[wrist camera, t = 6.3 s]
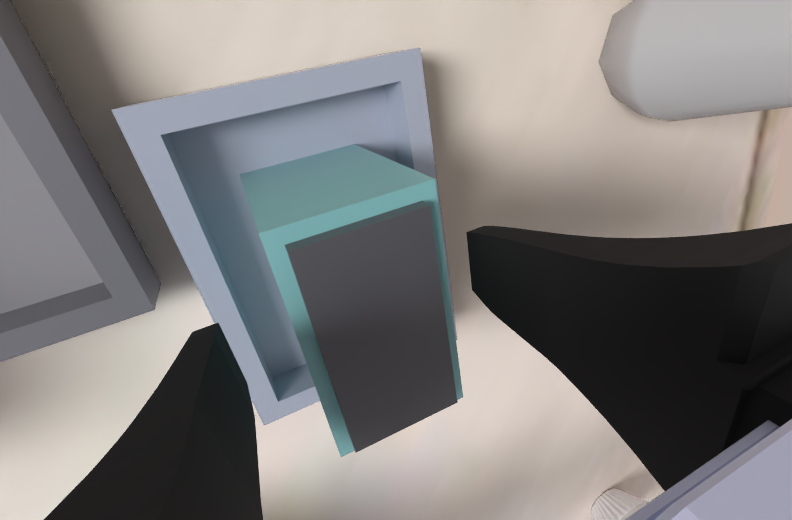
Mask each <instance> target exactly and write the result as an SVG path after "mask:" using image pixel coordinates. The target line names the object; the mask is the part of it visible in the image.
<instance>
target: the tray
mask: <svg viewBox="0 0 792 520" xmlns="http://www.w3.org/2000/svg"><path fill="white" fill-rule="evenodd" d="M112 112H113V114H114V116H115V118H116V121H117V123H118V125H119V127H120V129H121V131H122V133H123V135H124V137H125V139H126V141H127V143H128V145H129V147H130V149H131V152H132V154H133V156H134V158H135V160H136V162H137V164H138V166H139V168H140V170H141V172H142V174H143V176H144V178H145V180H146V183H147V185H148V187H149V189H150V191H151V193H152V195H153V197H154V199H155V201H156V203H157V205H158V207H159V209H160V211H161V213H162V216H163V218H164V220H165V222H166V224H167V226H168V228H169V230H170V232H171V234H172V236H173V238H174V240H175V242H176V244H177V247H178V249H179V251H180V253H181V255H182V257H183V259H184V261H185V263H186V265H187V267H188V269H189V271H190V273H191V275H192V278H193V280H194V282H195V284H196V286H197V288H198V290H199V292H200V294H201V296H202V298H203V300H204V302H205V304H206V306H207V309H208V311H209V313H210V315H211V317H212V319H213V321H214V323H215V324H216V323H219V325H220V327H221V329H222V331H223V333H224V335H225V337H226V339H227V341H228V344H229V346H230V348H231V350H232V352H233V354H234V356H235V358H236V360H237V362H238V365H239V367H240V369H241V371H242V373H243V375H244V377H245V379H246V381H247V384H248V388H249V393H250V397H251V399H252V402H253V404H254V406H255V408H256V410H257V412H258V414H259V416H260V418H261V420H262V422H263V424H264V425H266V424H269V423H271V422H273V421H275V420H278V419H280V418H282V417H284V416H287V415H289V414H291V413H293V412H296V411H298V410H300V409H302V408H305V407H307V406H309V405H311V404H314V403H316V402H318V401H320V398H319V396H318V393H317V390H316V388H315V385H314V382H313V379H312V377H311V374H310V371H309V369H308V366H307V363H306V361H305V358H304V355H303V352H302V350H301V347H300V344H299V342H298V339H297V336H296V333H295V331H294V328H293V325H292V323H291V320H290V317H289V314H288V312H287V309H286V306H285V304H284V301H283V298H282V296H281V293H280V290H279V287H278V285H277V282H276V279H275V277H274V274H273V271H272V268H271V266H270V263H269V260H268V258H267V255H266V252H265V249H264V247H263V244H262V241H261V239H260V236H259V233H258V230H257V227H256V224H255V221H254V218H253V215H252V212H251V209H250V205H249V202H248V199H247V196H246V193H245V190H244V187H243V184H242V181H241V178H240V175H239V174H242V173H246V172H250V171H254V170H257V169H261V168H265V167H269V166H273V165H276V164H280V163H284V162H288V161H292V160H295V159H299V158H303V157H307V156H311V155H314V154H318V153H322V152H326V151H329V150H333V149H337V148H341V147H345V146H348V145H352V144H355V145H358V146H360V147H362V148H365V149H367V150H369V151H372V152H374V153H376V154H378V155H381V156H383V157H385V158H388V159H390V160H392V161H395V162H397V163H399V164H402V165H404V166H406V167H409V168H411V169H413V170H415V171H418V172H420V173H422V174H425V175H427V176H429V177H432V178H434V179H435V182H436V190H437V197H438V205H439V213H440V221H441V229H442V236H443V244H444V252H445V260H446V268H447V275H448V283H449V291H450V299H451V307H452V314H453V322H454V330H455V338H456V340H457V335H456V327H455V319H454V311H453V303H452V295H451V287H450V279H449V272H448V264H447V256H446V248H445V240H444V232H443V224H442V216H441V208H440V200H439V192H438V184H437V176H436V168H435V160H434V153H433V145H432V137H431V129H430V121H429V113H428V105H427V97H426V89H425V81H424V73H423V65H422V57H421V49H420V48H414V49H408V50H402V51H396V52H390V53H385V54H380V55H375V56H370V57H365V58H360V59H355V60H350V61H345V62H340V63H335V64H330V65H325V66H320V67H315V68H310V69H305V70H300V71H295V72H290V73H285V74H281V75H276V76H271V77H266V78H261V79H256V80H251V81H246V82H241V83H236V84H231V85H226V86H221V87H216V88H211V89H206V90H201V91H196V92H191V93H186V94H181V95H176V96H171V97H166V98H161V99H156V100H151V101H146V102H141V103H136V104H131V105H126V106H123V107H119V108H116V109H112Z"/></svg>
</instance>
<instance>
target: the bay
mask: <svg viewBox="0 0 792 520" xmlns="http://www.w3.org/2000/svg"><path fill="white" fill-rule="evenodd" d="M160 285H161V283H160V281H159V279H158V277H157V275H156V273H155V272H154V270H153V268H152V266H151V264H150V262H149V260H148V258H147V257H146V255H145V253H144V251H143V249H142V247H141V245H140V243H139V242H138V240H137V238H136V236H135V234H134V232H133V230H132V228H131V226H130V225H129V223H128V221H127V219H126V217H125V215H124V213H123V211H122V210H121V208H120V206H119V204H118V202H117V200H116V198H115V196H114V195H113V193H112V191H111V189H110V187H109V185H108V183H107V181H106V180H105V178H104V176H103V174H102V172H101V170H100V168H99V166H98V165H97V163H96V161H95V159H94V157H93V155H92V153H91V151H90V149H89V148H88V146H87V144H86V142H85V140H84V138H83V136H82V134H81V133H80V131H79V129H78V127H77V125H76V123H75V121H74V119H73V118H72V116H71V114H70V112H69V110H68V108H67V106H66V104H65V103H64V101H63V99H62V97H61V95H60V93H59V91H58V89H57V88H56V86H55V84H54V82H53V80H52V78H51V76H50V74H49V72H48V71H47V69H46V67H45V65H44V63H43V61H42V59H41V57H40V56H39V54H38V52H37V50H36V48H35V46H34V44H33V42H32V41H31V39H30V37H29V35H28V33H27V31H26V29H25V27H24V26H23V24H22V22H21V20H20V18H19V16H18V14H17V12H16V11H15V9H14V7H13V5H12V3H11V1H10V0H0V362H1V361H4V360H7V359H10V358H13V357H16V356H19V355H22V354H25V353H28V352H31V351H34V350H37V349H40V348H43V347H46V346H49V345H52V344H55V343H57V342H60V341H63V340H66V339H69V338H72V337H75V336H78V335H81V334H84V333H87V332H90V331H93V330H96V329H99V328H102V327H105V326H108V325H111V324H114V323H117V322H120V321H123V320H126V319H129V318H132V317H135V316H138V315H140V314H143V313H146V312H149V311H152V310H155V306H156V301H157V297H158V293H159V289H160Z"/></svg>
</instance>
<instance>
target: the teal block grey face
mask: <svg viewBox="0 0 792 520" xmlns="http://www.w3.org/2000/svg"><path fill="white" fill-rule="evenodd" d="M239 175H240V178H241V181H242V184H243V187H244V190H245V193H246V196H247V199H248V202H249V205H250V209H251V212H252V215H253V218H254V221H255V224H256V227H257V230H258V233H259V236H260V239H261V241H262V244H263V247H264V249H265V252H266V255H267V258H268V260H269V263H270V266H271V268H272V271H273V274H274V277H275V279H276V282H277V285H278V287H279V290H280V293H281V296H282V298H283V301H284V304H285V306H286V309H287V312H288V314H289V317H290V320H291V323H292V325H293V328H294V331H295V333H296V336H297V339H298V342H299V344H300V347H301V350H302V352H303V355H304V358H305V361H306V363H307V366H308V369H309V371H310V374H311V377H312V379H313V382H314V385H315V388H316V390H317V393H318V396H319V398H320V401H321V404H322V407H323V409H324V412H325V415H326V417H327V420H328V423H329V426H330V428H331V431H332V434H333V436H334V439H335V442H336V444H337V447H338V450H339V453H340V455H341V457H342V456H345V455H347V454H349V453H351V452H353V451H355V452H358V451H360V450H362V449H364V448H366V447H368V446H370V445H372V444H374V443H376V442H378V441H380V440H382V439H384V438H386V437H388V436H390V435H392V434H394V433H396V432H398V431H400V430H402V429H404V428H406V427H408V426H411V425H413V424H415V423H417V422H419V421H421V420H423V419H425V418H427V417H429V416H431V415H433V414H435V413H437V412H439V411H441V410H443V409H445V408H447V407H449V406H451V405H453V404H455V403H457V400H458V399H460V398H462V397H463V392H462V385H461V377H460V369H459V361H458V353H457V346H456V338H455V330H454V322H453V314H452V307H451V299H450V291H449V283H448V275H447V268H446V260H445V252H444V244H443V236H442V229H441V221H440V213H439V205H438V197H437V190H436V182H435V179H434V178H432V177H429V176H427V175H425V174H422V173H420V172H418V171H415V170H413V169H411V168H409V167H406V166H404V165H402V164H399V163H397V162H395V161H392V160H390V159H388V158H385V157H383V156H381V155H378V154H376V153H374V152H372V151H369V150H367V149H365V148H362V147H360V146H358V145H355V144H352V145H348V146H345V147H341V148H337V149H333V150H329V151H326V152H322V153H318V154H314V155H311V156H307V157H303V158H299V159H295V160H292V161H288V162H284V163H280V164H276V165H273V166H269V167H265V168H261V169H257V170H254V171H250V172H246V173H242V174H239Z"/></svg>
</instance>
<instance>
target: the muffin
mask: <svg viewBox="0 0 792 520" xmlns="http://www.w3.org/2000/svg"><path fill="white" fill-rule="evenodd" d="M648 503H649V502H648V501H646V500H643V499H641V498H638V497H636V496H633V495H631V494H629V493H626V492H624V491H621V490H619V489H616V488H615V489H614V488H613V489H610V490H608V491H606V492H605V493H603V494H602V495H601V496H600V497H599V498H598V499H597V500H596V501H595V503H594V504H593V506H592V509H591V514H592V517H593V520H625V519H626V518H628V517H629V516H631V515H632V514H633V513H635V512H636V511H638V510H639V509H641V508H642V507H644V506H645V505H646V504H648Z"/></svg>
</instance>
